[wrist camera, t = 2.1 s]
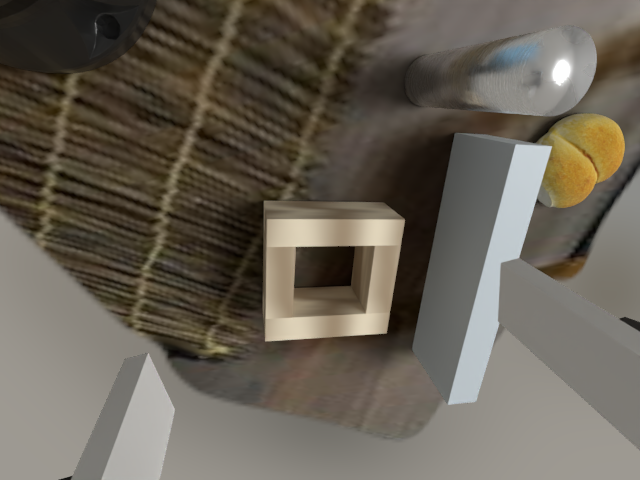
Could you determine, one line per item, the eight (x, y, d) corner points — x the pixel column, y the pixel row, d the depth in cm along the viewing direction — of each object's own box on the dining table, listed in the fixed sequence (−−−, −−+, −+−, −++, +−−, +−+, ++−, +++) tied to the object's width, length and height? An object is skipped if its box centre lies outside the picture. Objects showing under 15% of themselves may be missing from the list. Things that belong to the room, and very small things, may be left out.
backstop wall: (411, 349, 41) (447, 404, 34) (454, 132, 32) (515, 144, 25) (435, 347, 42) (476, 401, 34) (484, 134, 33) (552, 146, 26)
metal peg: (401, 105, 30) (512, 113, 18) (408, 52, 29) (536, 20, 16) (443, 108, 31) (580, 118, 19) (453, 57, 30) (608, 30, 17)
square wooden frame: (262, 309, 35) (265, 341, 31) (263, 200, 31) (266, 219, 26) (369, 304, 37) (386, 333, 33) (383, 202, 33) (405, 219, 29)
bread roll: (613, 155, 37) (653, 162, 33) (543, 214, 38) (574, 227, 34) (584, 90, 33) (626, 90, 30) (508, 157, 34) (539, 165, 31)
